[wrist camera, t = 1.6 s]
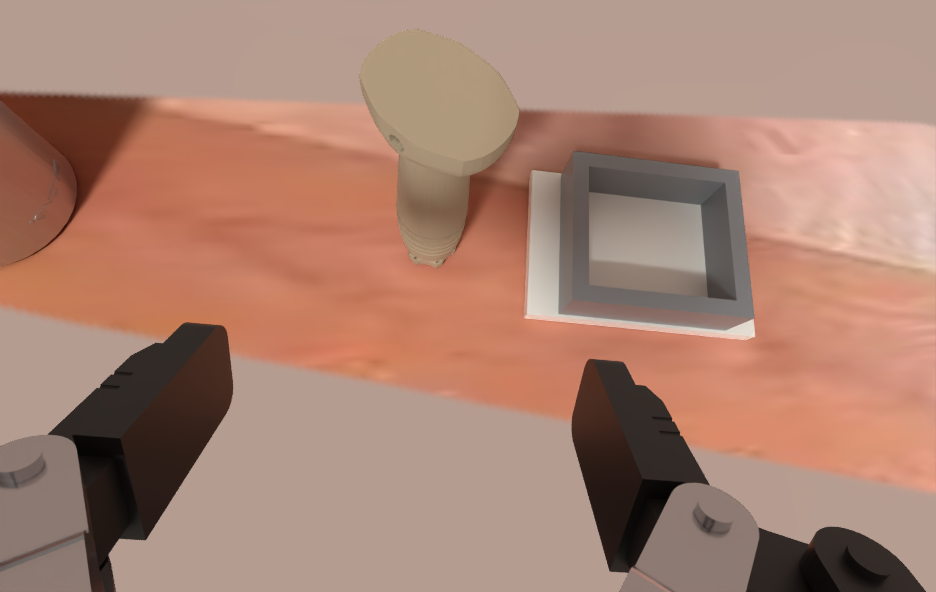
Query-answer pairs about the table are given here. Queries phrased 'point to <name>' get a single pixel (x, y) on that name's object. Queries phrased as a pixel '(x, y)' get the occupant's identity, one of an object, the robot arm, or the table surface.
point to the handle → (436, 131)
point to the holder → (639, 247)
